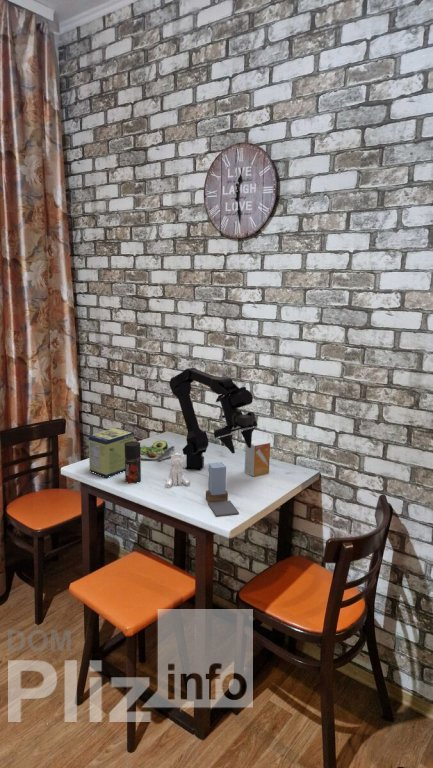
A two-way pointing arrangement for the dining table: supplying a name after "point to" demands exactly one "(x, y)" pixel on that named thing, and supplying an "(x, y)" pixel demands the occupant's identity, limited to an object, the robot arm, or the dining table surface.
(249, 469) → the small box
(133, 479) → the deodorant
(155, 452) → the salad plate
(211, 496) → the walnut plinth
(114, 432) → the protein box
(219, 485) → the slate-blue block
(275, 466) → the dining table surface
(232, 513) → the charcoal felt mat
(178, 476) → the white creature statuette
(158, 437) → the dining table surface
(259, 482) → the dining table surface
